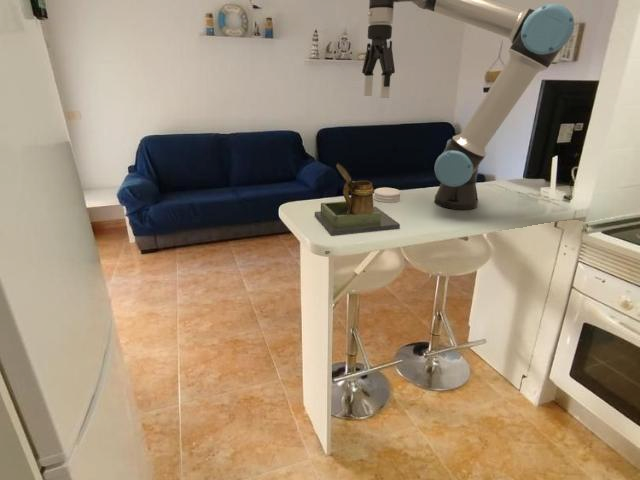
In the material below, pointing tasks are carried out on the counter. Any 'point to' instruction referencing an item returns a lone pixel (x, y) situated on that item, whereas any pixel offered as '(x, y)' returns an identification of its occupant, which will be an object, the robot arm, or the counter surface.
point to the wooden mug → (357, 194)
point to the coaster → (387, 195)
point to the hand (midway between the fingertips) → (375, 96)
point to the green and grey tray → (352, 220)
